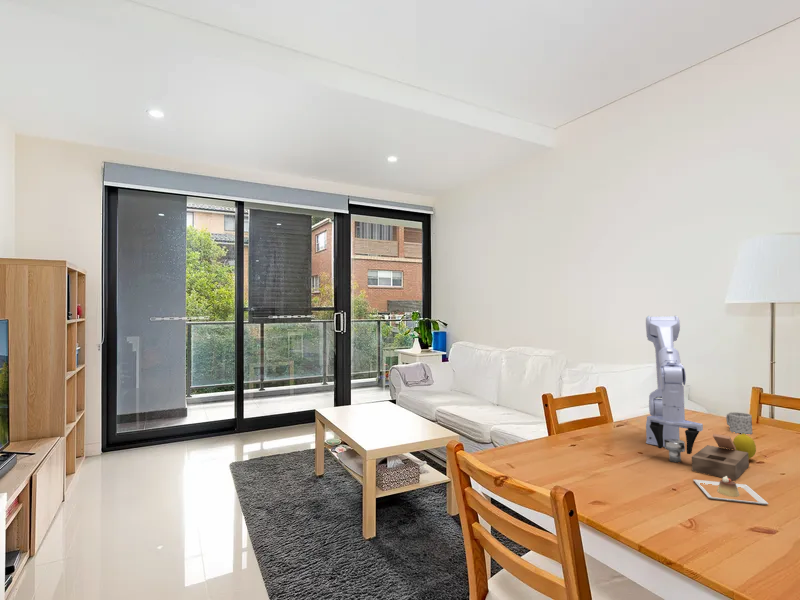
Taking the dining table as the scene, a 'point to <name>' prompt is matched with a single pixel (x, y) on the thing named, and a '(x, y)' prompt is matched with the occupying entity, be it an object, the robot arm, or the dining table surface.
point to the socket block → (720, 462)
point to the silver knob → (674, 449)
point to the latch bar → (724, 441)
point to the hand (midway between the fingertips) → (674, 450)
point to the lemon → (745, 444)
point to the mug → (739, 422)
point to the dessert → (730, 490)
